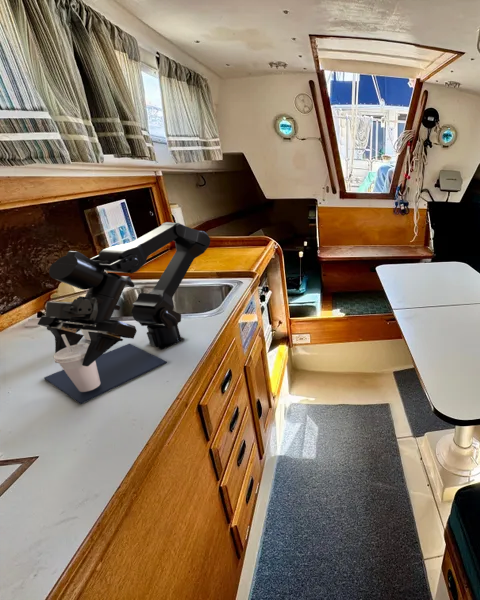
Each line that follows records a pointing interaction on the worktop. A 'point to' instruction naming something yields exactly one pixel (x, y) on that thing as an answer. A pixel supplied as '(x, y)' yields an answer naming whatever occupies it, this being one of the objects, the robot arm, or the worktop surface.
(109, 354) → the mat
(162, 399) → the worktop surface
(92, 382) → the smoothie
